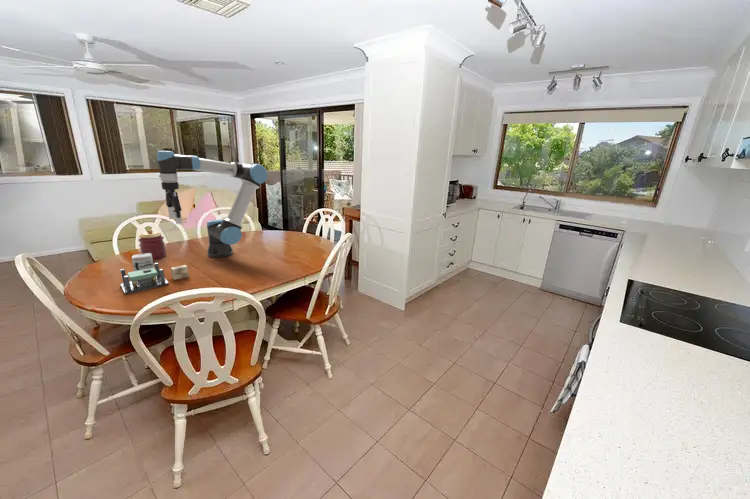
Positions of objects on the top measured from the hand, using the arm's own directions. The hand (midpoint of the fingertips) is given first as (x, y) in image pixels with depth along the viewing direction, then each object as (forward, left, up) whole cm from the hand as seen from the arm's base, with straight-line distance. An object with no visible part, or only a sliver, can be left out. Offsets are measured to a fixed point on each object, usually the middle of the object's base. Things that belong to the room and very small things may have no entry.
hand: (175, 221), depth 169 cm
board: (+20, +11, -24) cm, 33 cm away
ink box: (+18, -3, -29) cm, 34 cm away
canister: (+7, -34, -29) cm, 46 cm away
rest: (+4, +11, -29) cm, 31 cm away
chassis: (+20, +11, -29) cm, 37 cm away
